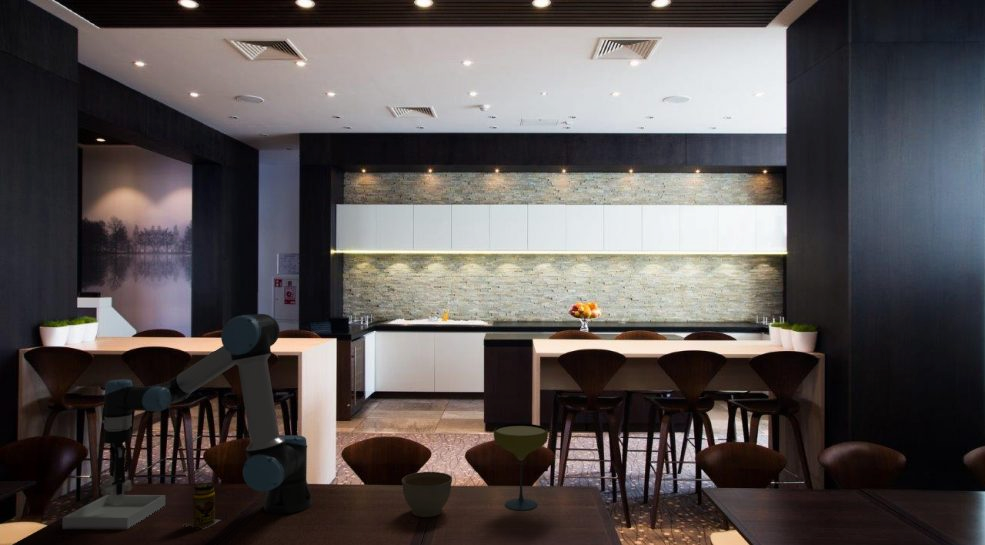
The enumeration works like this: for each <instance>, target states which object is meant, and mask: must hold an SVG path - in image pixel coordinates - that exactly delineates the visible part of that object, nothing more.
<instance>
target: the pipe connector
mask: <svg viewBox="0 0 985 545" xmlns="http://www.w3.org/2000/svg"><path fill="white" fill-rule="evenodd" d="M114 482H115V481H114V475H113V483H114ZM100 489H101V491H100V494H101V495H102V496H106V495H110V493H111V492H113V494H114V485H112V484H110V482H109V483H106V482H103V483H101V485H100ZM132 489H133V485H132V480H130V479H127V480H126V479H125V483H124V492H125V491H126V492H130V491H131V490H132Z"/></svg>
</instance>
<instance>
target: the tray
mask: <svg viewBox="0 0 985 545" xmlns="http://www.w3.org/2000/svg"><path fill="white" fill-rule="evenodd" d="M163 506H164V507H166V494H162V495H161V494H159V495H158V494H151V495H150V494H124V504H120V505H115V506H114V505H113V497H111V498H110V494H106V495H103V496H102V497H100V498H98V499H96V500H93V501H92V502H90V503H88V504H85V505H84V506H82V507H80V508H79V509H76V510H74V511H72V512H70V513H69V514H66V515H64V516H62V523H61V524H62V530H129V529H130V527H131V526H132V527H134V526H135V525H137V524H139V523H141V522H142V521H143V520H145V519H146V517H147V518H149V517H150V516H151V515H153V514H154V512H155V511H156V512H158V511H159V510H161V509H163V508H164V507H163ZM162 507H163V508H162ZM160 508H161V509H160ZM157 510H158V511H157ZM156 512H155V513H156ZM152 513H153V514H152ZM149 515H150V516H149ZM141 520H142V521H141ZM138 522H139V523H138ZM136 523H137V524H136ZM133 525H134V526H133ZM132 527H131V528H132Z"/></svg>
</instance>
